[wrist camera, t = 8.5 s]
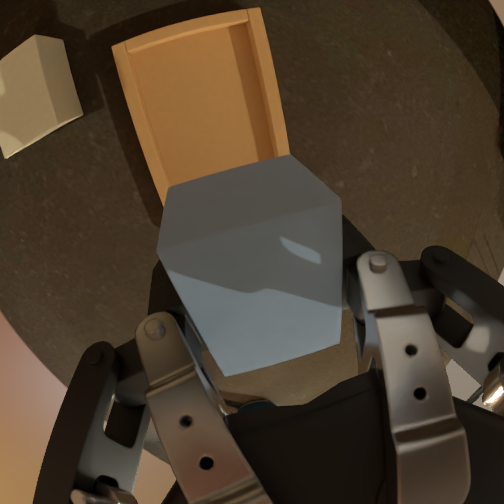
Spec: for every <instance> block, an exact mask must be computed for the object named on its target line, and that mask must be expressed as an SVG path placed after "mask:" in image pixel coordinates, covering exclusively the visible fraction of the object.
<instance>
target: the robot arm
mask: <svg viewBox="0 0 504 504" xmlns="http://www.w3.org/2000/svg"><path fill="white" fill-rule="evenodd" d="M342 235H343V282H342V310H345V309H348V308H350V309H351V310H352V312H353V328H354V335H355V343H356V351H357V359H358V376H355V377H353V378H350V379H348V380H345V381H342V382H340V383H339V384H337V385H336V386H334V387H332V388H331V389H329V390H328V391H326V392H325V393H323V394H322V395H320V396H318V397H317V398H315V399H314V400H312V401H310V402H309V403H307V404H304V405H293V406H274V407H260V408H256V409H252V410H247V411H243V412H239V413H234V414H232V412H231V411H230V410H229V408H228V406H227V405H226V403H225V401H224V400H223V398H222V396H221V394H220V393H219V391H218V389H217V387H216V385H215V384H214V382H213V380H212V378H211V376H210V374H209V372H208V371H207V369H206V367H205V365H204V364H203V359H202V351H205V350H209V349H208V348H207V346H206V344H205V342H204V341H203V339H202V337H201V336H200V334H199V332H198V330H197V328H196V327H195V325H194V323H193V321H192V320H191V318H190V316H189V314H188V312H187V310H186V309H185V307H184V305H183V303H182V301H181V299H180V297H179V295H178V294H177V292H176V290H175V288H174V286H173V284H172V282H171V280H170V278H169V276H168V274H167V272H166V270H165V268H164V266H163V264H162V262H161V260H159V261H158V263H157V264H156V266H155V268H154V269H153V274H152V282H151V290H150V298H149V307H148V316H147V317H145V318H144V319H143V320H142V321H141V322H140V323H139V324H138V326H137V328H136V331H135V338H134V339H132V340H130V341H129V342H127V343H125V344H123V345H121V346H119V347H117V348H114V347H113V346H112V345H111V344H110V343H108V342H105V341H101V342H97V343H94V344H93V345H91V346H90V347H89V348H87V350H86V351H85V352H84V354H83V355H82V357H81V359H80V362H79V364H78V366H77V369H76V371H75V373H74V375H73V378H72V380H71V383H70V385H69V387H68V390H67V392H66V395H65V397H64V400H63V403H62V405H61V408H60V411H59V413H58V416H57V419H56V422H55V425H54V427H53V431H52V434H51V436H50V440H49V442H48V446H47V449H46V452H45V456H44V459H43V463H42V466H41V470H40V474H39V477H38V481H37V486H36V490H35V495H34V499H33V504H138V502H137V500H136V499H135V497H134V496H133V495H132V494H133V489H134V485H135V480H136V476H137V471H138V467H139V462H140V458H141V453H142V450H143V446H144V442H145V438H146V434H147V430H148V426H149V422H150V418H152V421H153V424H154V426H155V429H156V432H157V434H158V437H159V439H160V442H161V445H162V447H163V449H164V452H165V454H166V457H167V459H168V461H169V464H170V466H171V468H172V470H173V473H174V475H175V477H176V479H177V480H176V481H175V483H174V485H173V486H172V488H171V489H170V491H169V492H168V494H167V496H166V497H165V499H164V500H163V502H162V503H161V504H504V286H503V285H501V284H500V283H499V282H497V281H496V280H495V279H493V278H492V277H490V276H489V275H487V274H486V273H485V272H483V271H482V270H480V269H479V268H477V267H476V266H474V265H473V264H471V263H470V262H468V261H467V260H465V259H464V258H462V257H461V256H459V255H457V254H456V253H454V252H453V251H451V250H449V249H448V248H445V247H442V246H429V247H427V248H425V249H424V250H423V251H422V254H421V258H420V260H412V261H398V259H397V258H396V257H395V256H394V255H393V254H391V253H389V252H387V251H383V250H375V248H374V247H373V246H372V245H371V244H370V243H369V242H368V241H367V239H366V238H365V237H364V236H363V235H362V234H361V233H360V232H359V231H358V230H357V228H356V227H355V226H354V225H353V224H351V222H350V221H349V220H348V219H347V218H346V217H345V216H344V215H342ZM448 297H449V298H450V299H451V300H453V301H454V302H455V303H457V304H458V305H459V306H460V307H462V308H463V309H464V310H466V311H467V312H468V313H469V314H470V315H471V316H472V318H473V321H474V324H471V323H470V322H469V321H467V320H466V319H465V318H464V317H462V316H461V315H460V314H459V313H457V312H456V311H455V310H453V309H452V308H451V307H450V306H448V305H447V304H446V301H447V298H448ZM440 349H442V350H443V351H444V352H445V353H446V354H447V355H448V356H450V357H451V358H452V359H453V360H454V361H456V363H457V364H458V365H460V366H461V367H462V368H463V369H464V370H465V371H466V372H467V373H468V374H470V375H471V376H472V377H473V378H474V379H475V380H476V381H477V382H478V383H479V384H480V385H481V386H482V387H483V392H484V394H483V396H482V402H483V404H484V405H486V406H491V408H492V410H493V412H491V411H488V410H486V409H483V408H481V407H478V406H476V405H473V404H471V403H469V402H466V401H464V400H461V399H459V398H456V397H454V396H452V393H451V389H450V384H449V380H448V376H447V373H446V369H445V365H444V361H443V358H442V354H441V351H440ZM112 399H113V400H114V403H113V406H112V409H111V412H110V415H109V419H108V422H107V425H106V428H105V432H104V430H103V424H104V421H105V418H106V415H107V412H108V409H109V406H110V403H111V400H112Z"/></svg>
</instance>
